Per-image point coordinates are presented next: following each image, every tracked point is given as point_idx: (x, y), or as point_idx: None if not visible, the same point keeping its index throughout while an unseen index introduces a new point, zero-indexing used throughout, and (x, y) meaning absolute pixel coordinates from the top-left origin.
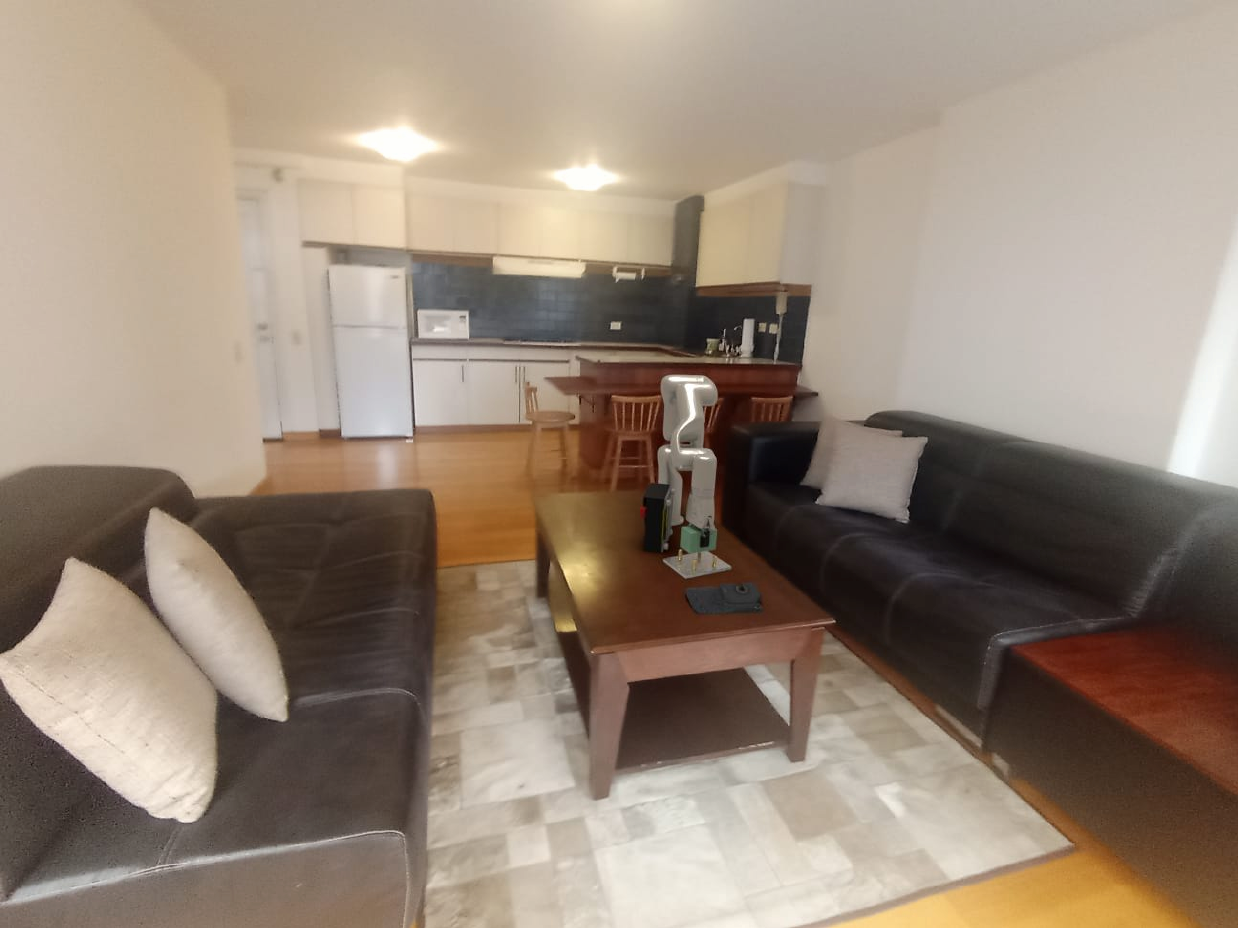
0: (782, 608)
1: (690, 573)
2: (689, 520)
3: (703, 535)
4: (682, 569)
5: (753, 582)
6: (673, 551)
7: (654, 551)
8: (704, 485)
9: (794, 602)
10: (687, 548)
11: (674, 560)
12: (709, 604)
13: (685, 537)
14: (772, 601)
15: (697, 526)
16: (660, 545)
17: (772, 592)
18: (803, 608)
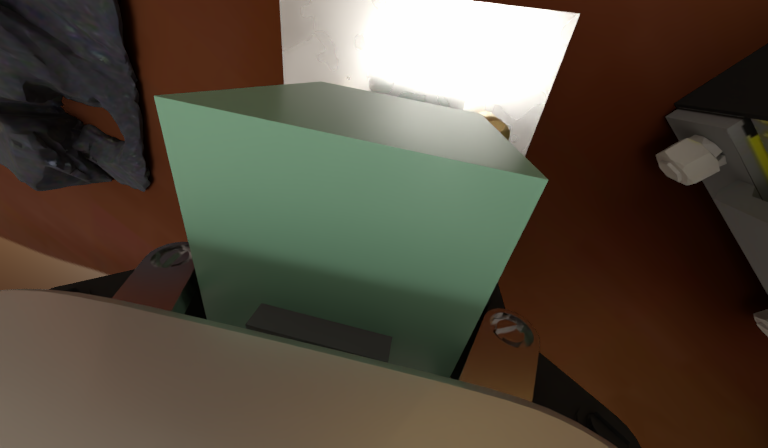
0: (9, 179)
1: (295, 37)
2: (434, 428)
3: (180, 256)
4: (362, 28)
5: (30, 186)
6: (610, 191)
7: (736, 66)
8: None
9: (54, 237)
10: (350, 91)
11: (495, 76)
12: None
13: (385, 115)
14: (53, 190)
15: (88, 307)
16: (732, 105)
17: (114, 236)
18: (20, 229)
